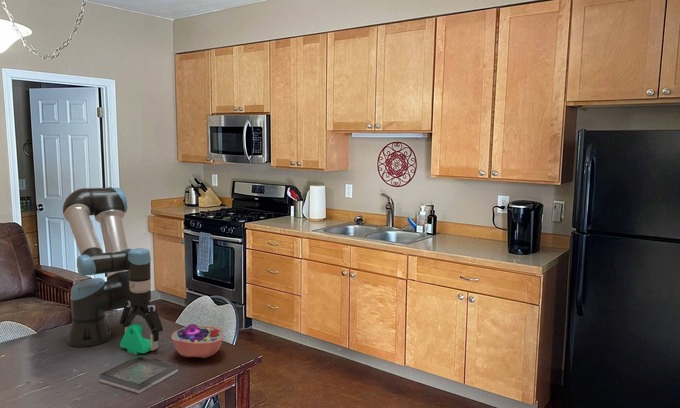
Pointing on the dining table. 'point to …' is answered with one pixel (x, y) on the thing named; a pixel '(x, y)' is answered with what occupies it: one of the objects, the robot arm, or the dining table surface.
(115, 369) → the plate
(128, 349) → the camera mount
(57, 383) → the dining table surface
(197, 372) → the dining table surface
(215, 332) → the cell model
